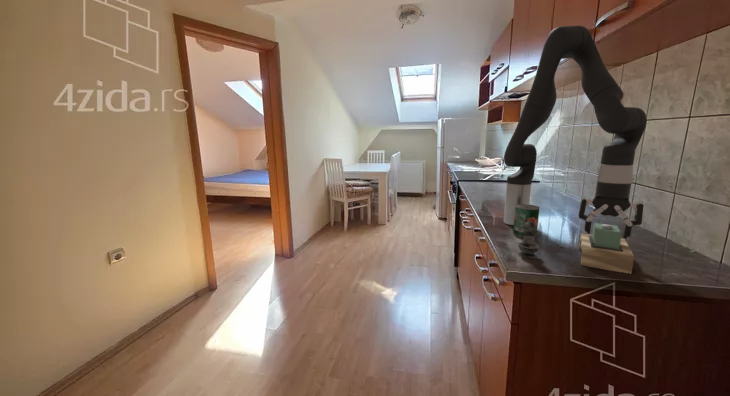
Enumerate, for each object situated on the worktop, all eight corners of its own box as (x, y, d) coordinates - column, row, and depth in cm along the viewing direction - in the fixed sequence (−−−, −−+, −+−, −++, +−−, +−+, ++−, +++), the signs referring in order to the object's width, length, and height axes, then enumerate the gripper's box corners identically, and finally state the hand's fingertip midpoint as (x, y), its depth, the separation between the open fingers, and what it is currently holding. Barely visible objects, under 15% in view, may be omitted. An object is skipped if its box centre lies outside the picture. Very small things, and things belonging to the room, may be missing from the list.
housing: (592, 236, 93) (594, 220, 92) (614, 239, 90) (617, 223, 89) (594, 245, 86) (596, 227, 85) (619, 249, 83) (622, 230, 82)
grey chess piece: (535, 253, 95) (539, 216, 92) (540, 260, 89) (544, 221, 87) (515, 251, 96) (518, 215, 94) (518, 258, 91) (522, 220, 89)
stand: (578, 247, 99) (580, 232, 98) (622, 254, 93) (624, 238, 92) (580, 265, 85) (583, 247, 84) (631, 274, 80) (634, 255, 78)
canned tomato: (514, 230, 118) (517, 203, 116) (537, 233, 113) (540, 205, 111) (511, 236, 111) (513, 207, 109) (535, 239, 107) (538, 209, 105)
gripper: (645, 180, 84) (635, 236, 87) (582, 177, 91) (575, 228, 95) (651, 184, 77) (640, 243, 81) (583, 180, 85) (576, 235, 88)
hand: (605, 235), depth 88 cm, fingers open, 8 cm apart
